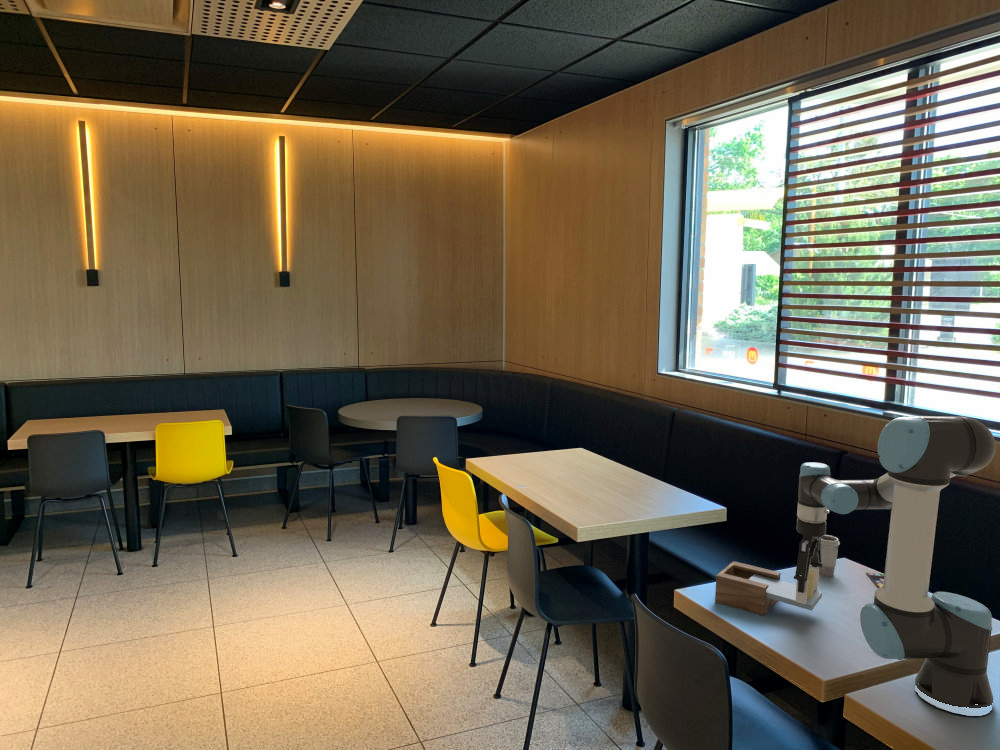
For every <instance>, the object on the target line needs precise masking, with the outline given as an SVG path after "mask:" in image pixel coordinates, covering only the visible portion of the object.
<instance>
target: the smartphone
mask: <svg viewBox="0 0 1000 750" xmlns="http://www.w3.org/2000/svg"><path fill="white" fill-rule="evenodd" d="M865 575H866V576H867V577H868V578H869V579H870V581H871V582H872V583H873V584H874V585H875V588H877V589H878V588H880V587H882V586H883V585H884V576H885V573H876V572H865Z"/></svg>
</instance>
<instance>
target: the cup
mask: <svg viewBox="0 0 1000 750" xmlns="http://www.w3.org/2000/svg"><path fill="white" fill-rule="evenodd" d="M840 545H841V542H840V541H839V538H838V537H836V536H834V535H829V534H825V535H824V536H821V560H822V561H821V563H822V564H823V565H822V567H818V568H819V575H820V576H822V577H826V578H832V577H834V575H835V574H834V573H835V568H836V565H837V558H838V553H839V552H838V551H839V546H840Z"/></svg>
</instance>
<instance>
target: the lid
mask: <svg viewBox="0 0 1000 750" xmlns="http://www.w3.org/2000/svg"><path fill="white" fill-rule="evenodd" d="M815 573H816V572H815V571H811V570H809V572H808V577H807V580H808V590H807V604H802V603H798V602H796V586H797V584H795V583H791V582H787V581H783V580H781V579H780V580H776V579H773V578H769V577H765V576H762V575H758V574H754V575H753V576H752V577H750V578H749V579H748V580H752V581H756V582H760V583H764V584H768V588H767V589H766V598H770V599H773V600H777V602H781V603H784V604H788V605H791V606H795V607H798V608H801V609H805V610H808V611H813V609H814V608H815V607H816V606H817V604H818V603H819V602H820V600H821V598H823V591H819V590H814V583H815Z"/></svg>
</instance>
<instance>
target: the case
mask: <svg viewBox="0 0 1000 750" xmlns="http://www.w3.org/2000/svg"><path fill="white" fill-rule="evenodd" d="M754 574H758V575H762V576H765V577H769V578H773V579H776V580H780V581H781V575H782V574H781V572H779V571H776V570H771V569H768V568H767V569H766V568H762V567H758V566H755V565H752V564H747V563H744V562H743V563H742V562H739V561H731V563H729V564H728V565H727V566H726V567H725V568H723V569H722V570H721V571H720V572H718V573H717V574H716V576H715V592H714V593H715V596H714V603H716V604H720V605H723V606H726V607H731V608H734V609H737V610H740V611H744V612H748V613H751V614H755V615H758V614H759V616H762V617H764V616H765V615H766V614H767V613H768V612H769V611H770V610H771V609H772V607H773V606H774V605H776V603H777V602H778V601H777V600H773V599H770V598H766V589H767V588H768V584H764V583H760V582H756V581H752V580H748V579H749V578H750V577H752V576H753V575H754Z"/></svg>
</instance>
